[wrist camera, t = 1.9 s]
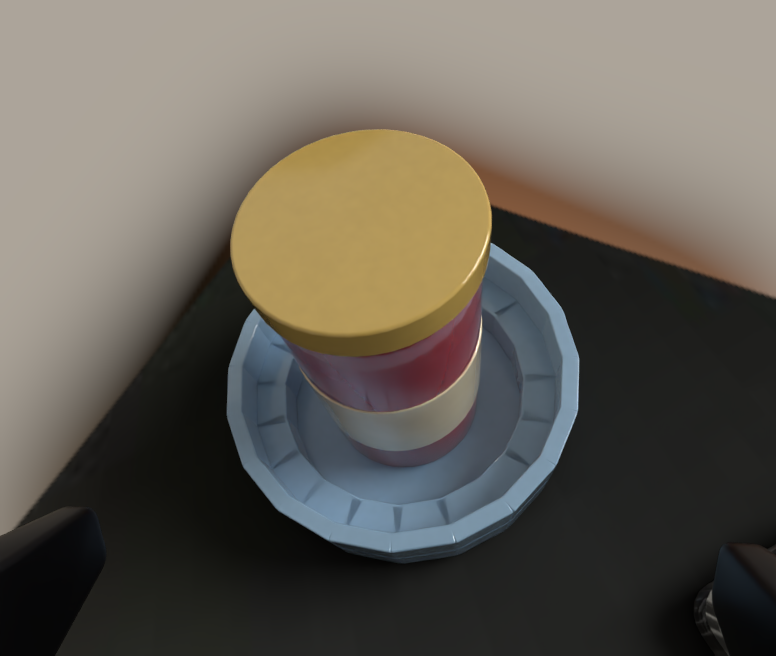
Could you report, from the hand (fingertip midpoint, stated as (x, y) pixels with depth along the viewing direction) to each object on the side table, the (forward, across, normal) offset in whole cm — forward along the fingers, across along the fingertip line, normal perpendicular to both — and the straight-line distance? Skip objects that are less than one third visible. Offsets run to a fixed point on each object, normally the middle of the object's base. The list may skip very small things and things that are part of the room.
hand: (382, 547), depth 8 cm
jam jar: (+15, +1, +5) cm, 15 cm away
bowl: (+15, +1, +5) cm, 16 cm away
